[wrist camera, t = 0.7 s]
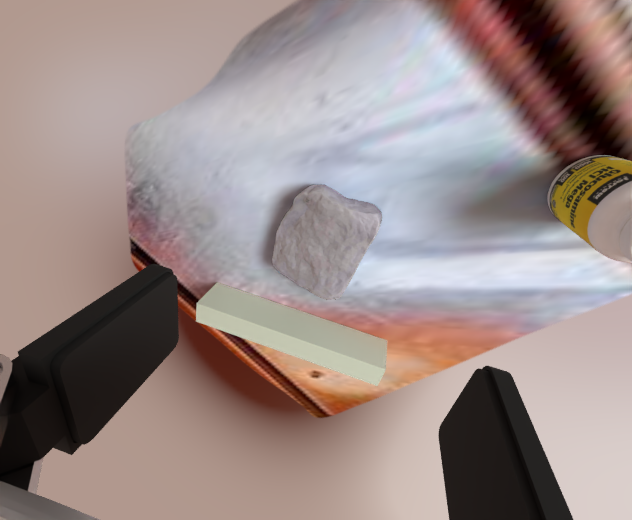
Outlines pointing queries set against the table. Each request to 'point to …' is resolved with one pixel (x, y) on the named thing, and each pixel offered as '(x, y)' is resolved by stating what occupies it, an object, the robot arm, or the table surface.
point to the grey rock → (324, 240)
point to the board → (294, 332)
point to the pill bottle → (596, 203)
